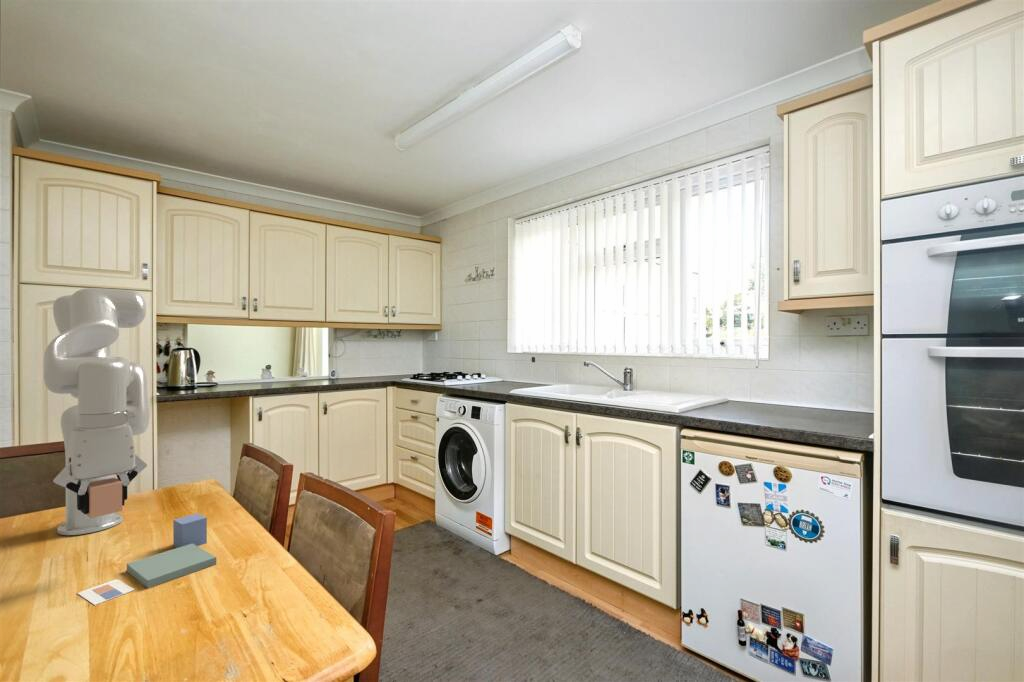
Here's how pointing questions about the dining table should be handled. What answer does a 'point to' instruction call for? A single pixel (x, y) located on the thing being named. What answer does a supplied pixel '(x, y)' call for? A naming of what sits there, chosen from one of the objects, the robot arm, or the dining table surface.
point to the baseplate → (170, 565)
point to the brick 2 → (190, 530)
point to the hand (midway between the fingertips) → (102, 507)
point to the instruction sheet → (105, 591)
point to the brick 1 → (104, 497)
